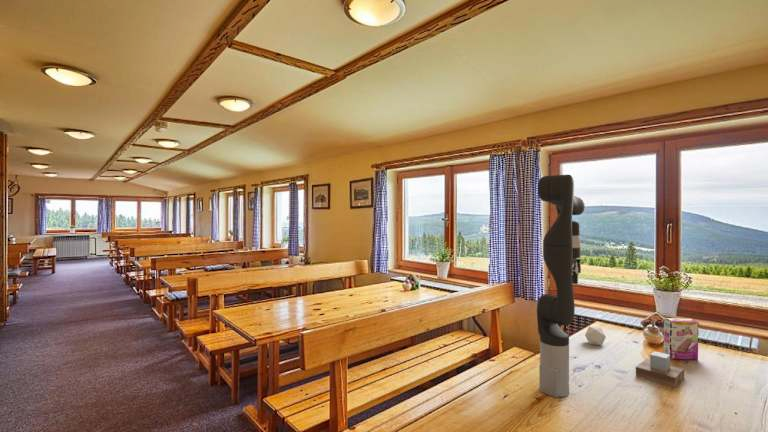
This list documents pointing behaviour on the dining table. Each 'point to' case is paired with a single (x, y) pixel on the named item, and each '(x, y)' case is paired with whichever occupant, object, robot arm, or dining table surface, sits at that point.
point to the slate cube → (660, 361)
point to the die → (595, 336)
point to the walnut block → (660, 374)
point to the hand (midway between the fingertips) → (570, 285)
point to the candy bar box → (681, 338)
